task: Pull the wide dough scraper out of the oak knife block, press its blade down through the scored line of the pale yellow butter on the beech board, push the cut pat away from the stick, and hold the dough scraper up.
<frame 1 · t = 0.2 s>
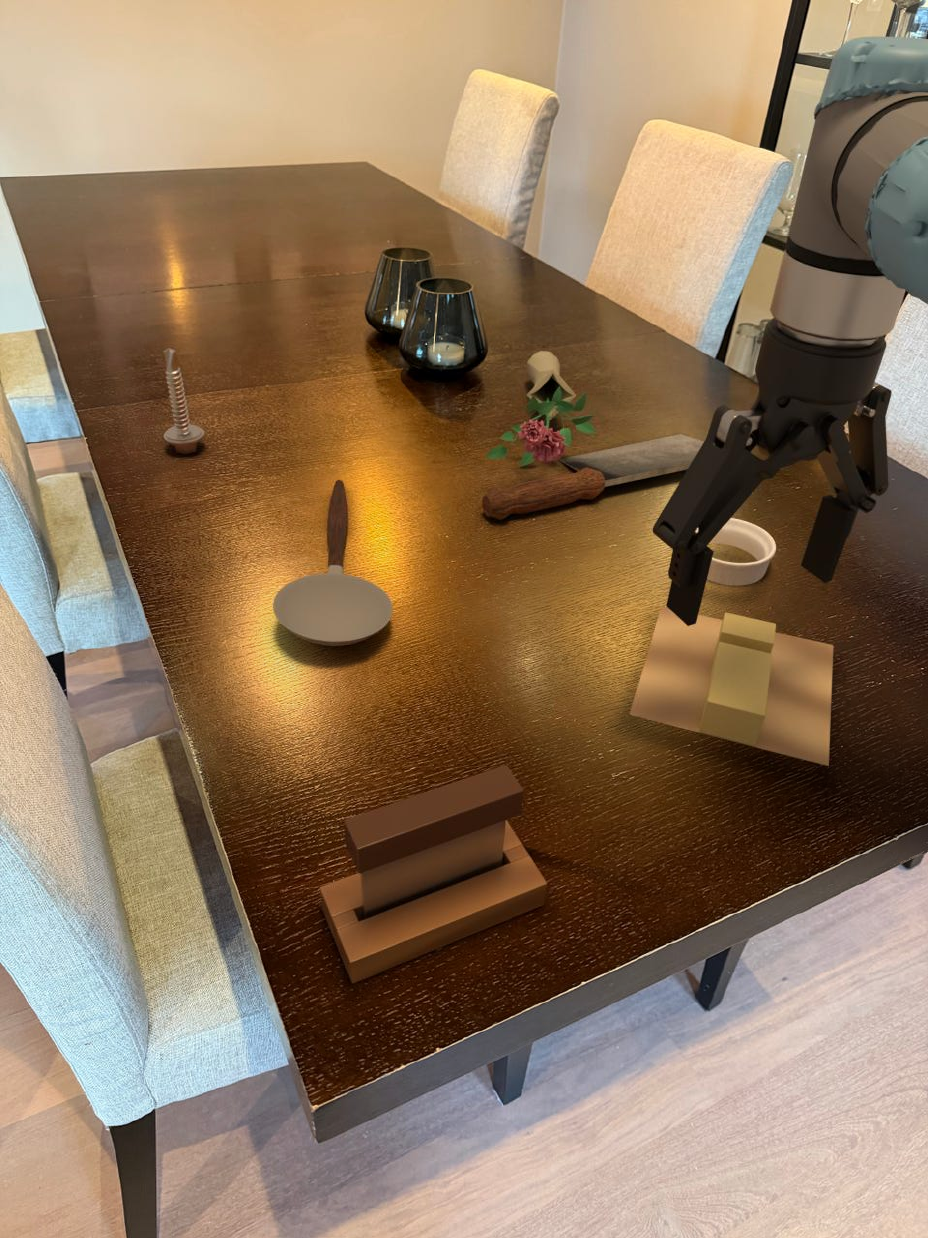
hand: (750, 593, 70), 12 cm above the table, tool pointing down, fingers open, 13 cm apart
butter pat: (740, 657, 81), point 1 cm above the table, touching butter board
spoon: (337, 565, 93), on the table
meat cleaver: (595, 478, 109), on the table
knife block: (433, 907, 61), on the table
butter stick: (731, 707, 76), point 1 cm above the table, touching butter board
white ring: (722, 575, 94), on the table
dough scraper: (434, 858, 58), in the knife block
butter board: (733, 690, 79), on the table
screw: (186, 450, 111), on the table
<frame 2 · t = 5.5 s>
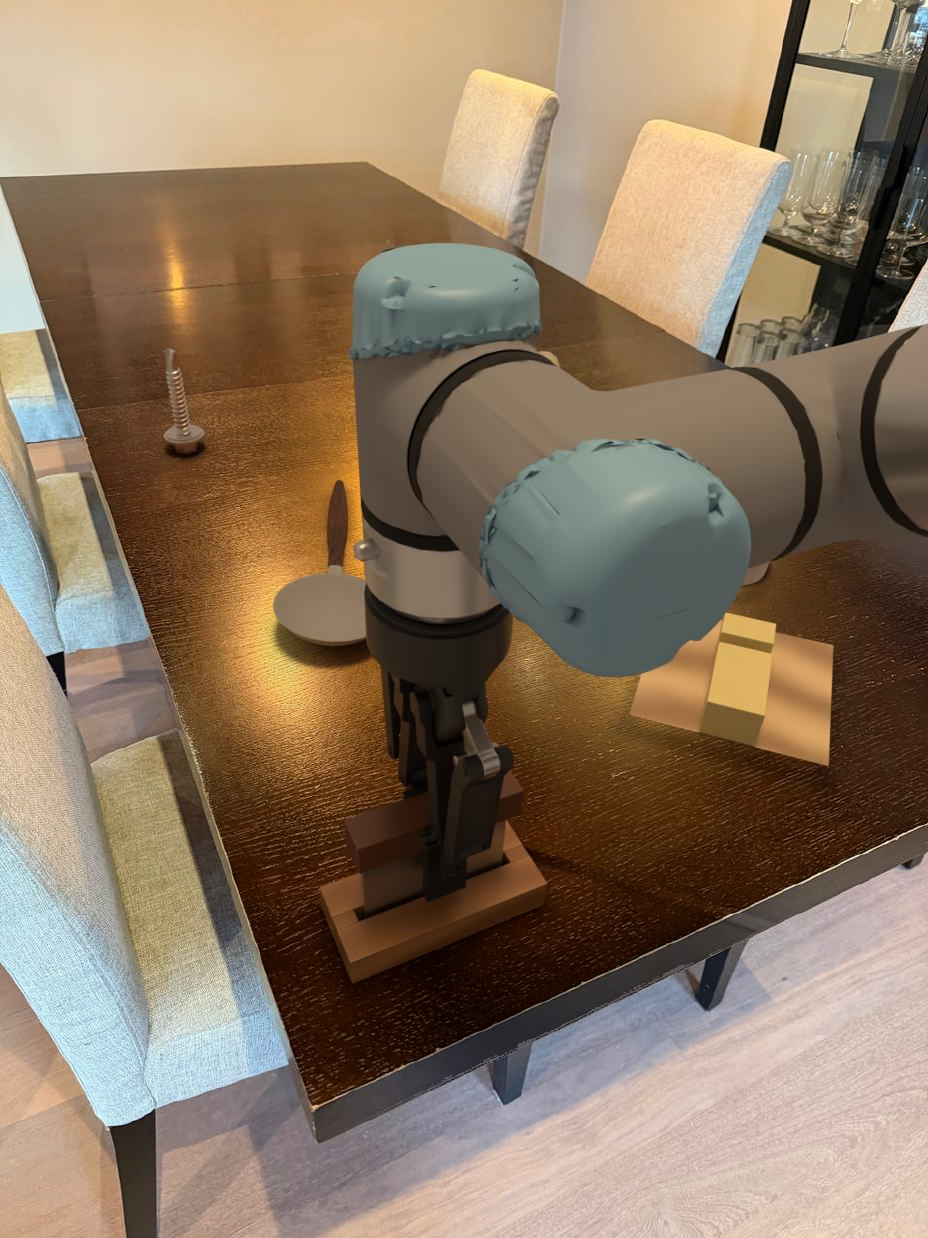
hand: (434, 871, 59), 4 cm above the table, tool pointing down, fingers closed on dough scraper, 2 cm apart
dough scraper: (434, 858, 58), in the knife block, touching gripper
everything else where it was.
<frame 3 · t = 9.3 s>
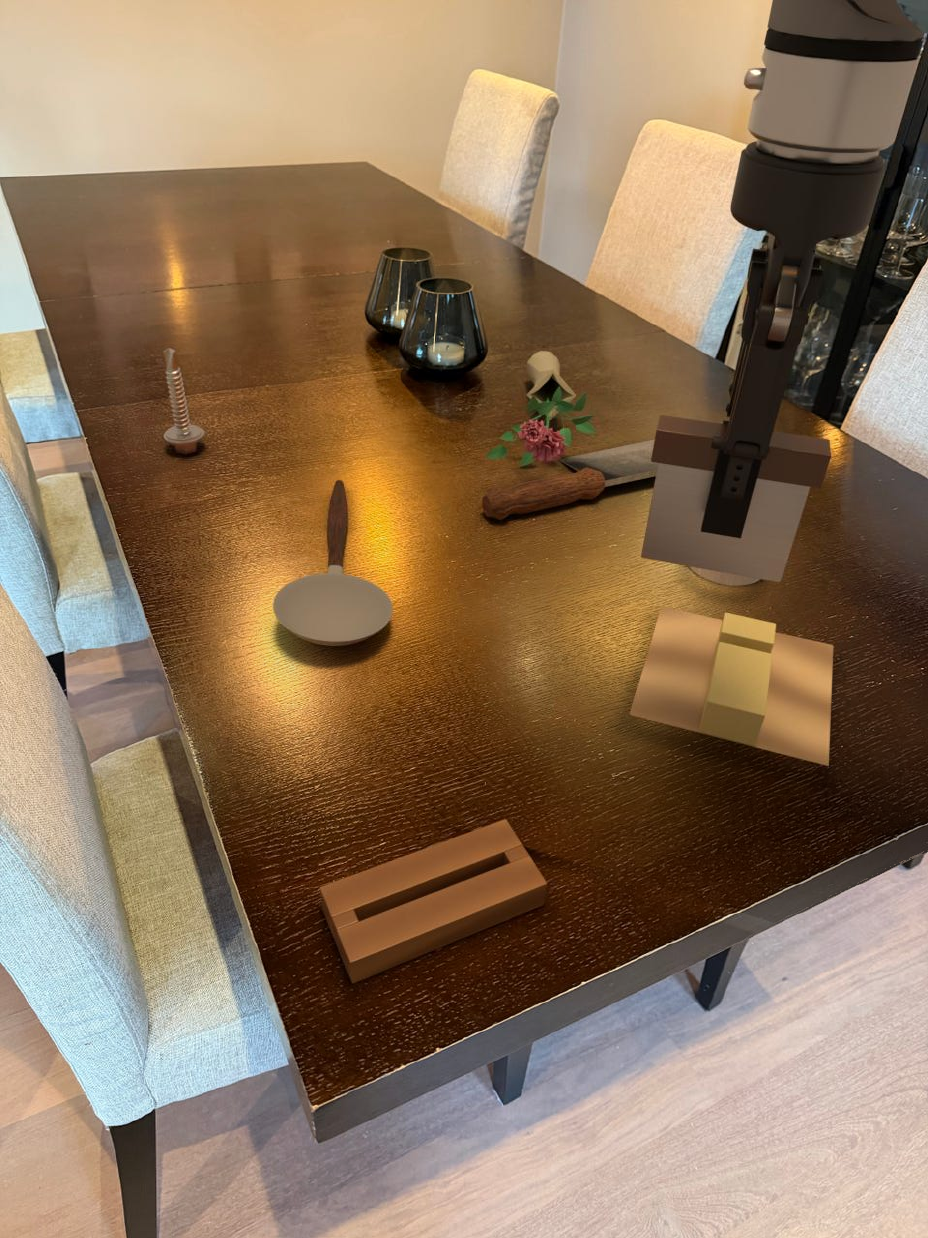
hand: (722, 520, 62), 21 cm above the table, tool pointing down, fingers closed on dough scraper, 2 cm apart
dough scraper: (725, 504, 62), point 22 cm above the table, touching gripper
everything else where it was.
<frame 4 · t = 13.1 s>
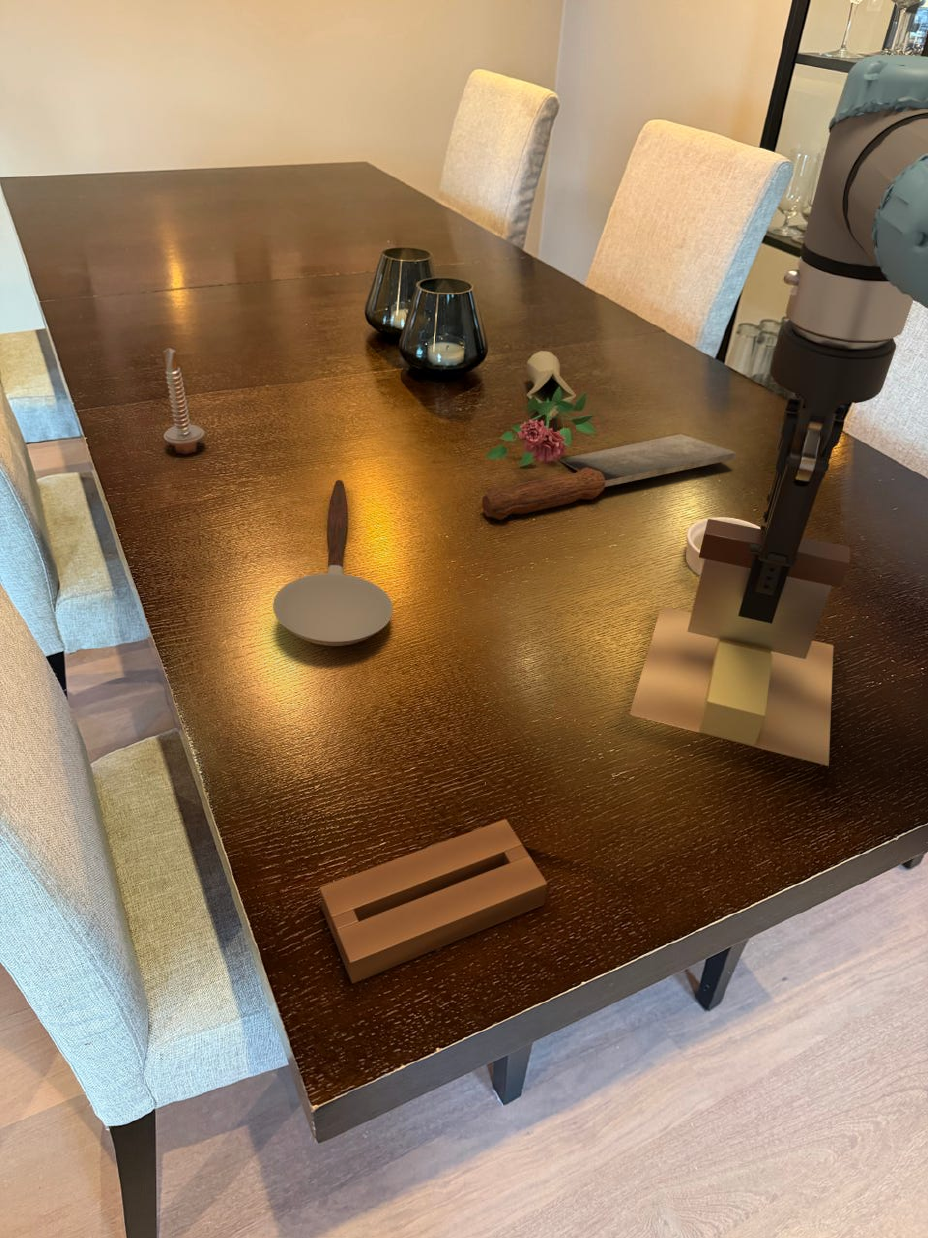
hand: (757, 606, 74), 9 cm above the table, tool pointing down, fingers closed on dough scraper, 2 cm apart
dough scraper: (760, 594, 74), point 10 cm above the table, touching gripper
everything else where it was.
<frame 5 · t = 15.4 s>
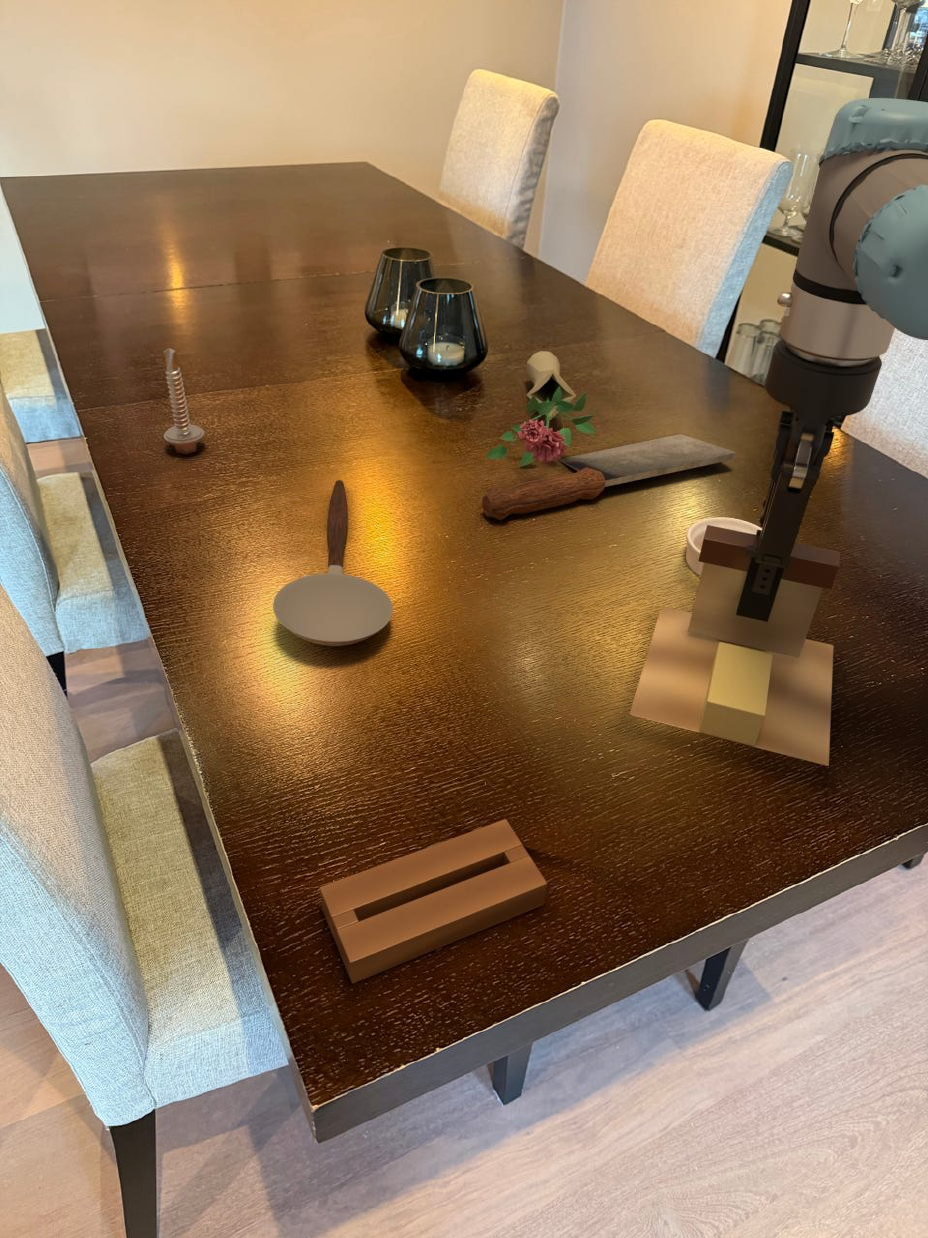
hand: (753, 605, 79), 6 cm above the table, tool pointing down, fingers closed on dough scraper, 2 cm apart
butter pat: (743, 635, 83), point 2 cm above the table, touching butter board, dough scraper
dough scraper: (756, 596, 78), point 7 cm above the table, touching butter pat, gripper
everything else where it was.
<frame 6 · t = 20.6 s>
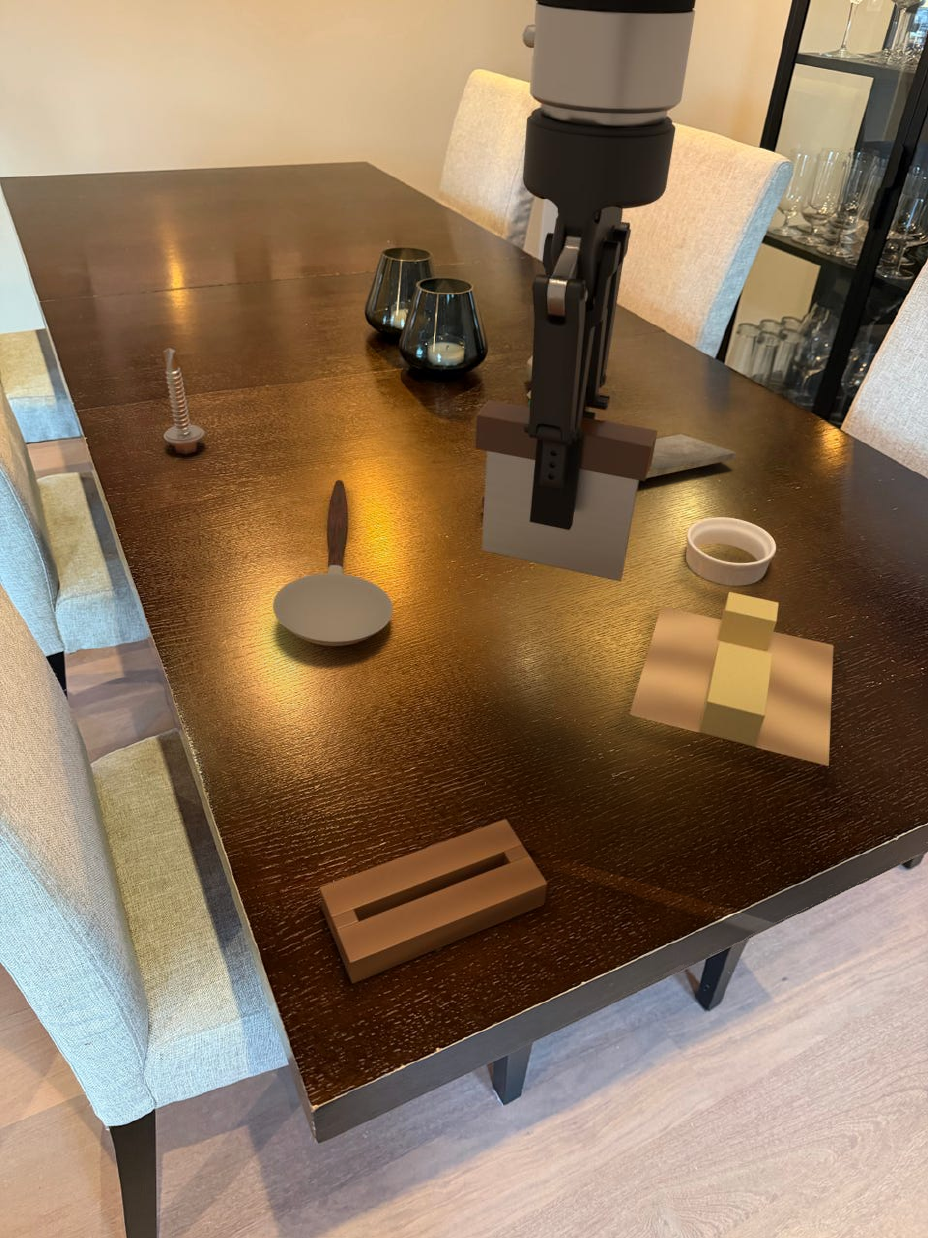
hand: (557, 510, 59), 22 cm above the table, tool pointing down, fingers closed on dough scraper, 2 cm apart
butter pat: (743, 635, 83), point 1 cm above the table, touching butter board
dough scraper: (558, 497, 59), point 24 cm above the table, touching gripper
everything else where it was.
at the end: butter pat moved 3.3 cm from its start; butter pat touching butter board; the gripper is holding dough scraper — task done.
